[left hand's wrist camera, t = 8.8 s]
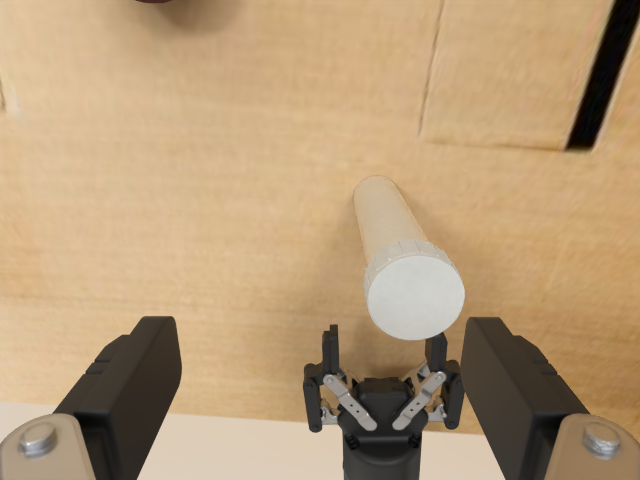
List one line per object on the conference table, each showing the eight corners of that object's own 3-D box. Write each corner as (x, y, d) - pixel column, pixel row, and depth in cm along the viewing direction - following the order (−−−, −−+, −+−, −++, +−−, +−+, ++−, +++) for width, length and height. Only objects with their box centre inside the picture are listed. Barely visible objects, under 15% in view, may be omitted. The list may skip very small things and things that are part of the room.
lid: (436, 326, 25) (446, 350, 23) (352, 309, 25) (354, 331, 22) (467, 249, 23) (481, 267, 21) (376, 229, 23) (381, 245, 21)
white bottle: (391, 224, 40) (439, 336, 23) (347, 214, 39) (365, 321, 23) (404, 181, 38) (466, 269, 22) (359, 170, 38) (387, 251, 21)
